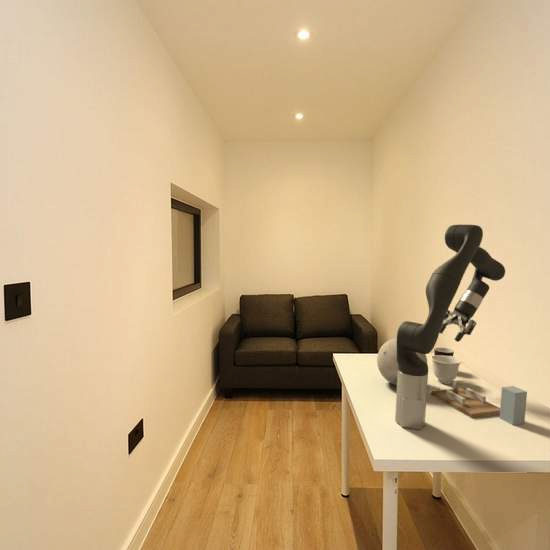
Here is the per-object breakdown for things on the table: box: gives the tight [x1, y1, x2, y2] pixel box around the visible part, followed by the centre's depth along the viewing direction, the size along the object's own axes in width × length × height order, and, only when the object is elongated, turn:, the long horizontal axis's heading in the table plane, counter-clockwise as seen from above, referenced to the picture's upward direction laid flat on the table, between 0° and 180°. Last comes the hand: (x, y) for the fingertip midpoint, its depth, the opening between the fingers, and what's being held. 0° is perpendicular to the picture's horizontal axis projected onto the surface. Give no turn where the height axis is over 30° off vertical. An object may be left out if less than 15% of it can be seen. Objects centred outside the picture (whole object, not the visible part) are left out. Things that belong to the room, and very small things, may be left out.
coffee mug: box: [433, 347, 455, 357], centre depth 171 cm, size 12×9×10 cm
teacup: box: [430, 355, 462, 385], centre depth 156 cm, size 12×15×10 cm
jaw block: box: [499, 385, 528, 426], centre depth 120 cm, size 5×5×11 cm
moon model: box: [376, 337, 428, 386], centre depth 149 cm, size 20×20×20 cm
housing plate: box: [430, 380, 500, 419], centre depth 133 cm, size 20×14×6 cm
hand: (447, 336), depth 147 cm, fingers open, 8 cm apart
